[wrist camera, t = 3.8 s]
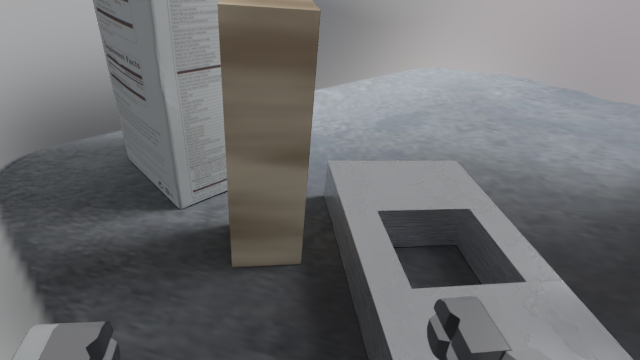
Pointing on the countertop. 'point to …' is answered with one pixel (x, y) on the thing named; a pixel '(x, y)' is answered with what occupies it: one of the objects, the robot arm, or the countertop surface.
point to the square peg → (267, 123)
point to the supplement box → (168, 91)
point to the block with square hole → (446, 229)
